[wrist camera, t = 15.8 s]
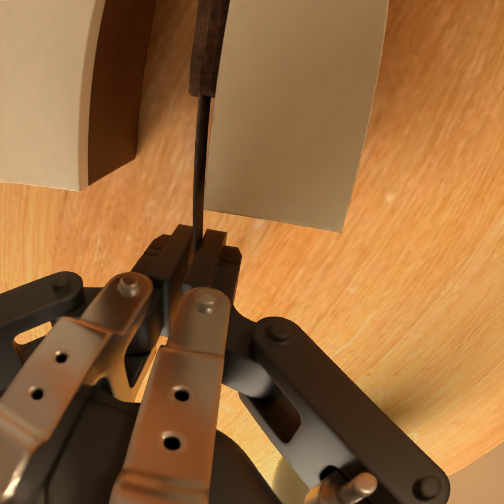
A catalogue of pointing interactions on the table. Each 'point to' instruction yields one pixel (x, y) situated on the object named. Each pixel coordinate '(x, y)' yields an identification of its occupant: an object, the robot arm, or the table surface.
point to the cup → (288, 484)
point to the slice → (293, 108)
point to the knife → (205, 92)
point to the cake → (70, 88)
